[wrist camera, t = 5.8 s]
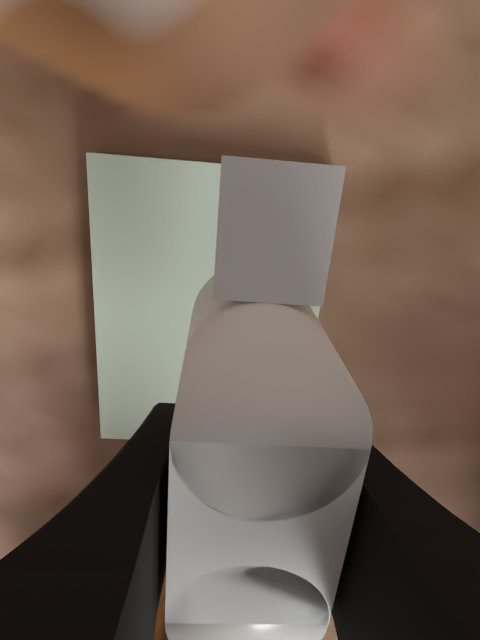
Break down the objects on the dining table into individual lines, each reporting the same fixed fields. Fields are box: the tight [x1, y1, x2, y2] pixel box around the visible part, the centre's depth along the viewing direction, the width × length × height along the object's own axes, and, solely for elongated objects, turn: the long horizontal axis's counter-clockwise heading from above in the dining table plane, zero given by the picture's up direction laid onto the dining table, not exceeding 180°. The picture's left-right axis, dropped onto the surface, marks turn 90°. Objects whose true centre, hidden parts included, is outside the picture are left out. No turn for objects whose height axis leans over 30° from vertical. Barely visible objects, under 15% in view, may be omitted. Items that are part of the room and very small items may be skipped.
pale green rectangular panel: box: [86, 152, 320, 439], centre depth 17 cm, size 9×12×1 cm
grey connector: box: [165, 155, 373, 640], centre depth 9 cm, size 3×9×5 cm, turn 175°
